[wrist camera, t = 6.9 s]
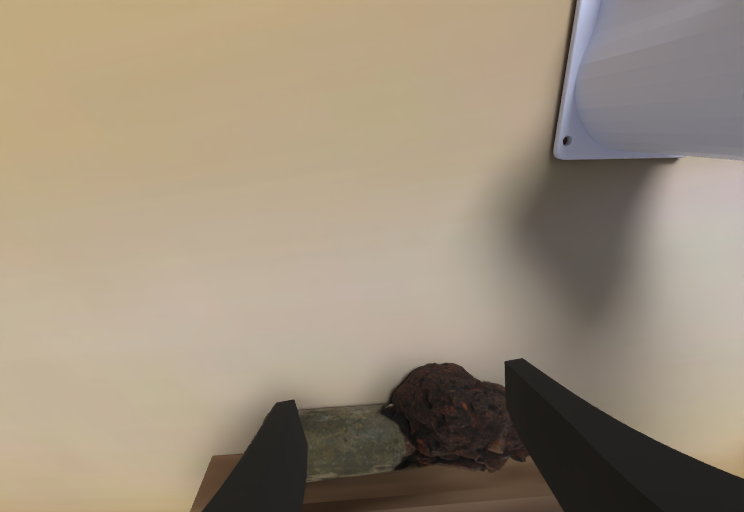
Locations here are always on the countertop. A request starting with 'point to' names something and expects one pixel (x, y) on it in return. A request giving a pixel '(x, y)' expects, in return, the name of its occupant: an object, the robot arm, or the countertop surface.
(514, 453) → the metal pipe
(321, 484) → the brown wooden plank
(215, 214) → the countertop surface
